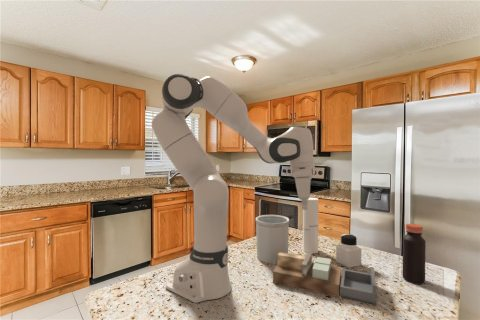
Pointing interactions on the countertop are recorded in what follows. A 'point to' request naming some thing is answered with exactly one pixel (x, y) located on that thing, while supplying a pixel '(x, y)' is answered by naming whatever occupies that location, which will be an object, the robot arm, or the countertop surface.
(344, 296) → the box
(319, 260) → the tile
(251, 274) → the countertop surface
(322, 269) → the tile
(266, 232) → the utensil holder
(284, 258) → the scraper
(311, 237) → the cylindrical container
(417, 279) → the vinegar
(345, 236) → the medicine bottle
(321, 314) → the countertop surface
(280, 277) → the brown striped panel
